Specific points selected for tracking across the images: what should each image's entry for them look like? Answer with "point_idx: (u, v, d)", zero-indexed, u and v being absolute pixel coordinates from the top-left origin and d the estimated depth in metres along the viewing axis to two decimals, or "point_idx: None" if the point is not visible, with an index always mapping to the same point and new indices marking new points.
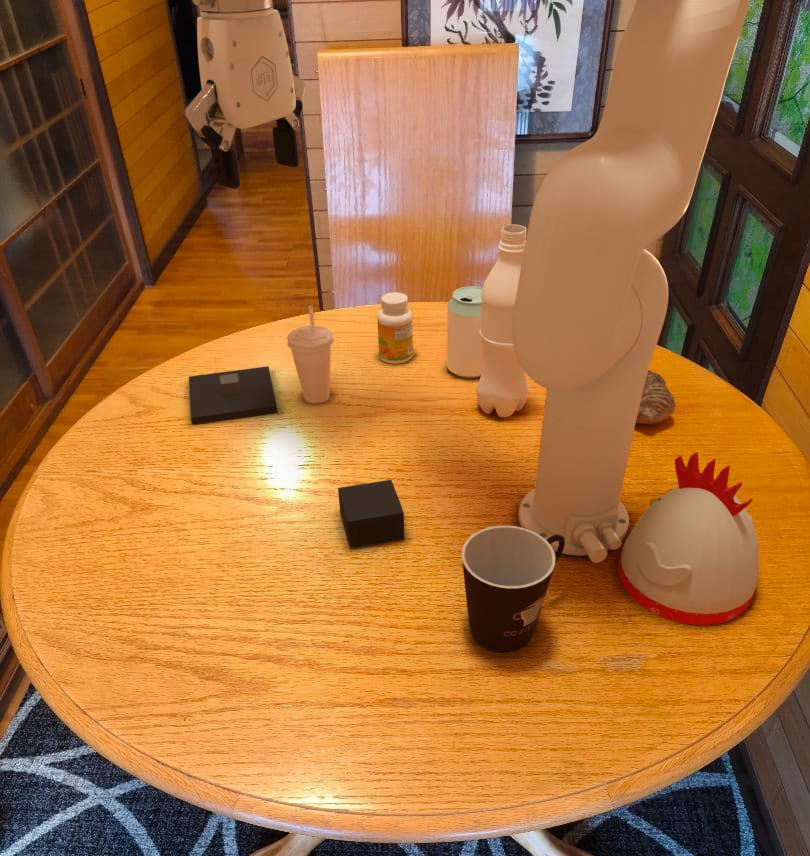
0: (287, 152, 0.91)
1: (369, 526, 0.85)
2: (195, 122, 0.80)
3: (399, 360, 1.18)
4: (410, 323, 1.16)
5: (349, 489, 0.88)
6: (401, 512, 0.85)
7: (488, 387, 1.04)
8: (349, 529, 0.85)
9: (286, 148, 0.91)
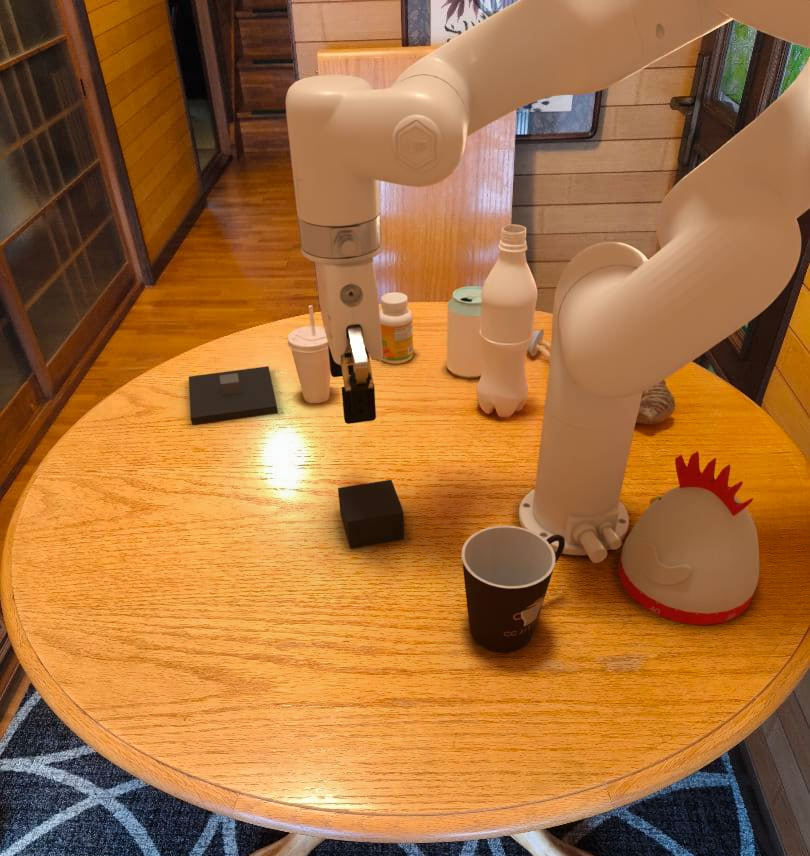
0: None
1: (369, 526, 0.85)
2: (365, 373, 0.70)
3: (399, 360, 1.18)
4: (410, 323, 1.16)
5: (349, 489, 0.88)
6: (401, 512, 0.85)
7: (488, 387, 1.04)
8: (349, 529, 0.85)
9: None
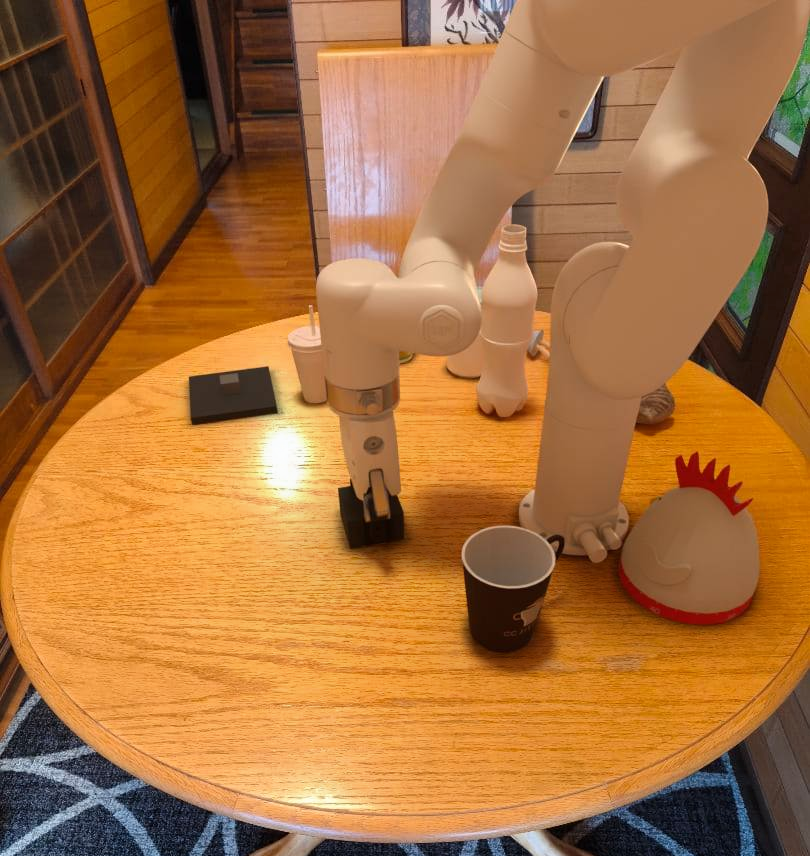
0: None
1: None
2: (385, 515, 0.79)
3: (399, 360, 1.18)
4: None
5: (349, 489, 0.88)
6: (401, 512, 0.85)
7: (488, 387, 1.04)
8: (349, 529, 0.85)
9: None
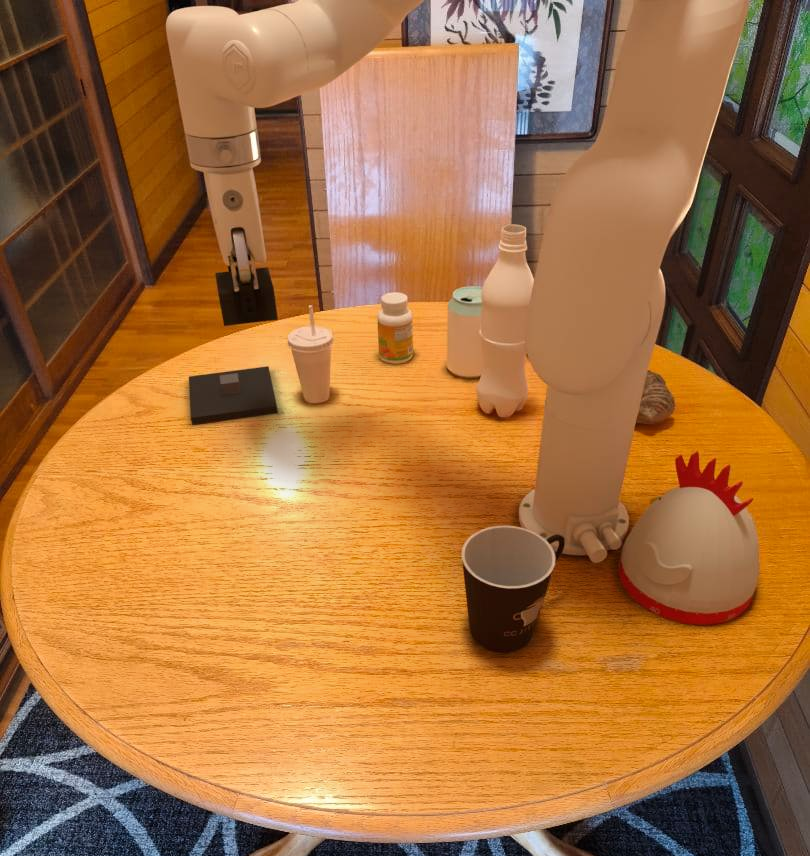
0: None
1: None
2: (248, 276, 0.83)
3: (399, 360, 1.18)
4: (410, 323, 1.16)
5: (225, 273, 0.92)
6: (271, 287, 0.89)
7: (488, 387, 1.04)
8: (221, 303, 0.89)
9: None
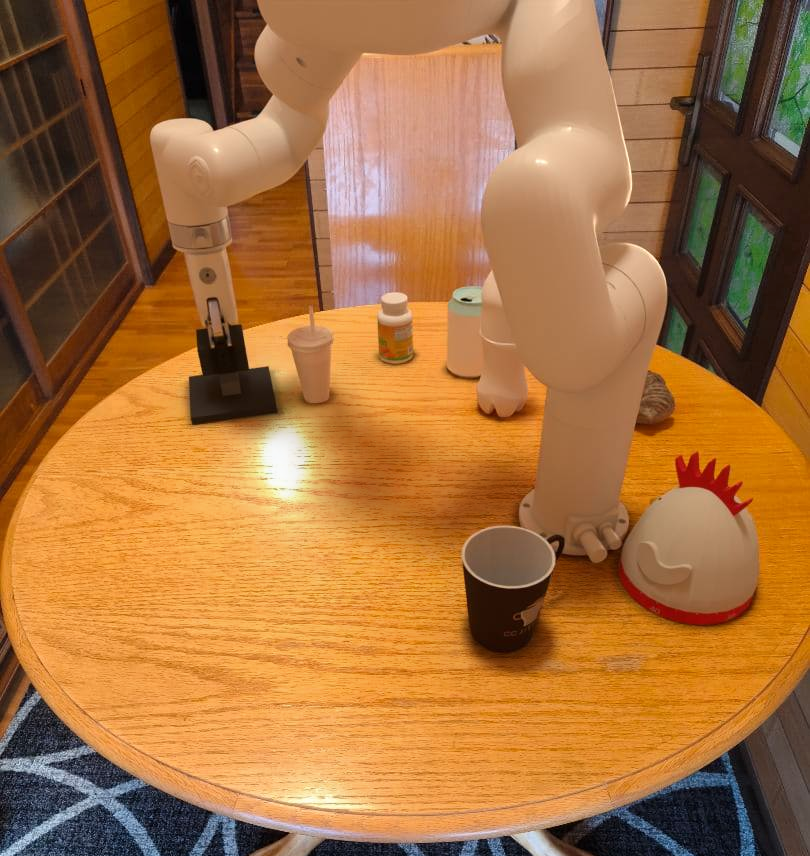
0: None
1: None
2: (221, 337, 0.98)
3: (399, 360, 1.18)
4: (410, 323, 1.16)
5: (205, 330, 1.07)
6: (243, 344, 1.04)
7: (488, 387, 1.04)
8: (200, 357, 1.04)
9: None
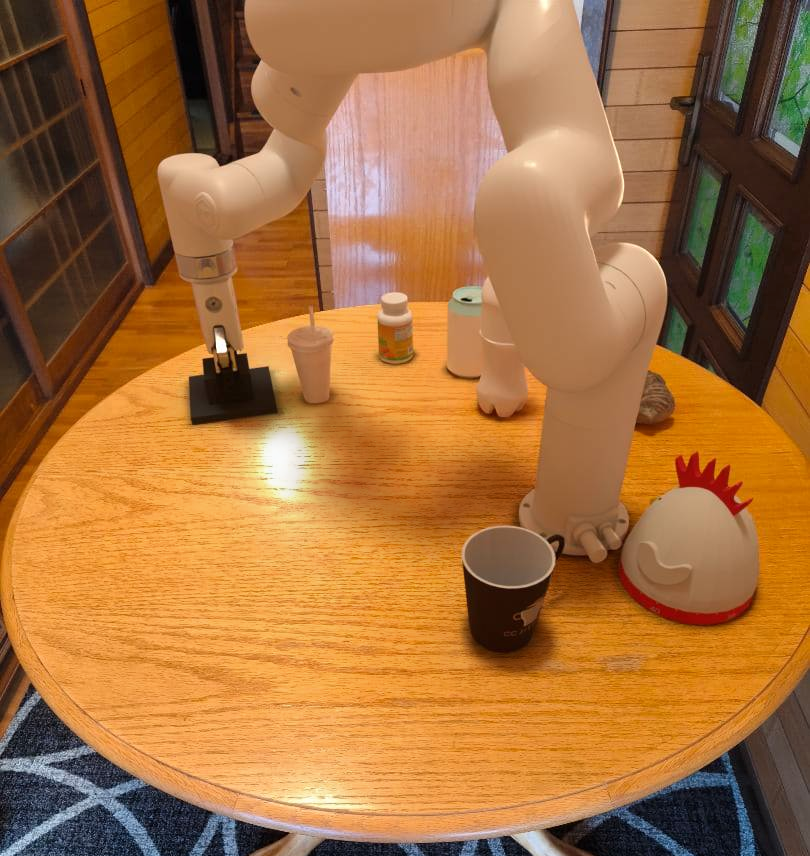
0: (230, 354, 1.12)
1: None
2: (226, 359, 0.99)
3: (399, 360, 1.18)
4: (410, 323, 1.16)
5: (211, 359, 1.10)
6: (248, 373, 1.07)
7: (488, 387, 1.04)
8: (206, 386, 1.07)
9: None
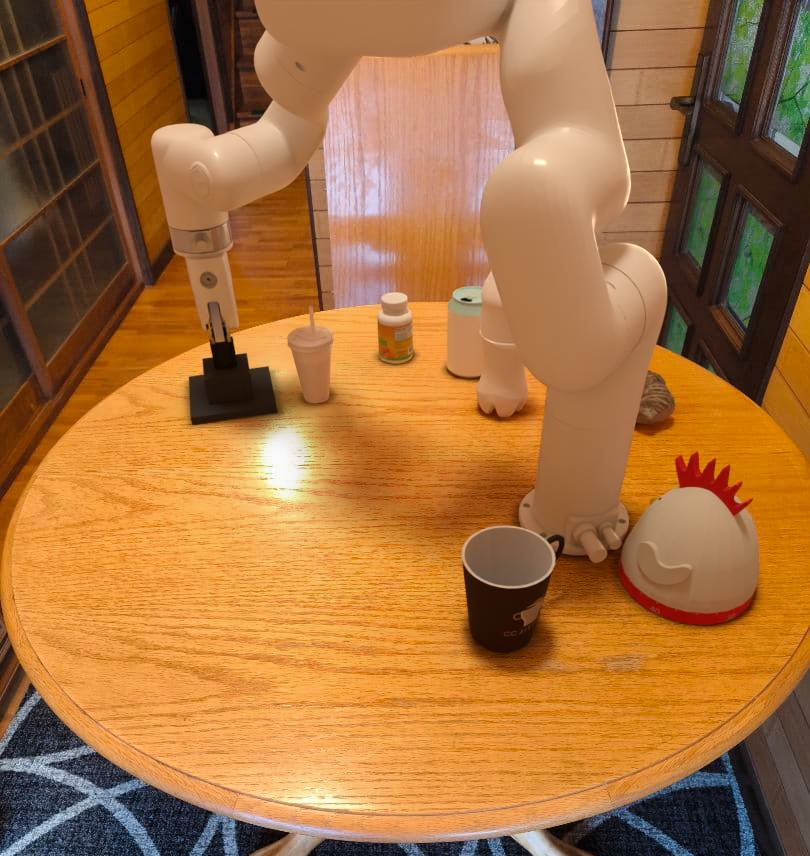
0: None
1: (223, 385, 1.07)
2: None
3: (399, 360, 1.18)
4: (410, 323, 1.16)
5: (211, 359, 1.10)
6: (248, 373, 1.07)
7: (488, 387, 1.04)
8: (206, 386, 1.07)
9: None
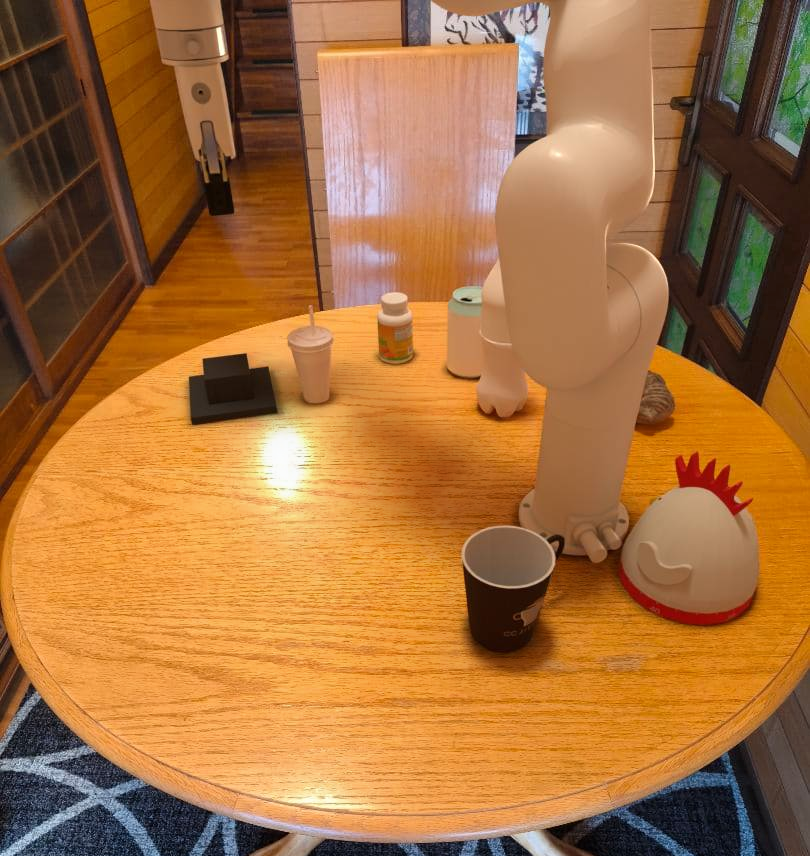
0: None
1: (223, 385, 1.07)
2: None
3: (399, 360, 1.18)
4: (410, 323, 1.16)
5: (211, 359, 1.10)
6: (248, 373, 1.07)
7: (488, 387, 1.04)
8: (206, 386, 1.07)
9: None
